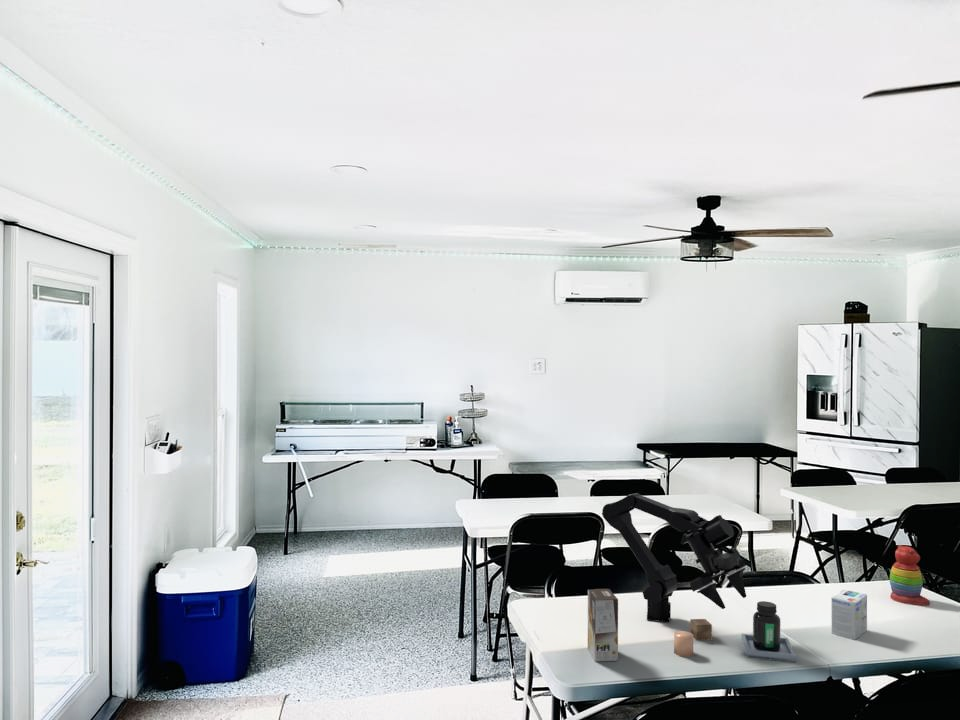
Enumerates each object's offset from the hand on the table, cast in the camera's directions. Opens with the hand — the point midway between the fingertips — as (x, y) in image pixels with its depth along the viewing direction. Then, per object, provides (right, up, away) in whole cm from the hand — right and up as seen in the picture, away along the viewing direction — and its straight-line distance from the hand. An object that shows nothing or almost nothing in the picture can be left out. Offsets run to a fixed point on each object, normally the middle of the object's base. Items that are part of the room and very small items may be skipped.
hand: (734, 602), depth 194 cm
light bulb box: (+36, -11, +6) cm, 38 cm away
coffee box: (-39, -10, -11) cm, 42 cm away
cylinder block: (-17, -10, -9) cm, 22 cm away
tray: (+6, -10, -7) cm, 14 cm away
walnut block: (-9, -10, +2) cm, 14 cm away
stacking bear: (+71, -12, +35) cm, 80 cm away
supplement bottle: (+6, -10, -7) cm, 14 cm away
